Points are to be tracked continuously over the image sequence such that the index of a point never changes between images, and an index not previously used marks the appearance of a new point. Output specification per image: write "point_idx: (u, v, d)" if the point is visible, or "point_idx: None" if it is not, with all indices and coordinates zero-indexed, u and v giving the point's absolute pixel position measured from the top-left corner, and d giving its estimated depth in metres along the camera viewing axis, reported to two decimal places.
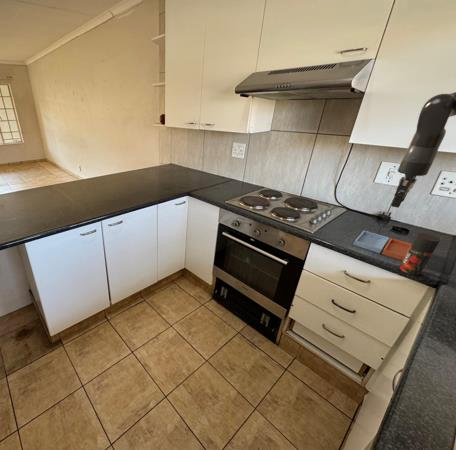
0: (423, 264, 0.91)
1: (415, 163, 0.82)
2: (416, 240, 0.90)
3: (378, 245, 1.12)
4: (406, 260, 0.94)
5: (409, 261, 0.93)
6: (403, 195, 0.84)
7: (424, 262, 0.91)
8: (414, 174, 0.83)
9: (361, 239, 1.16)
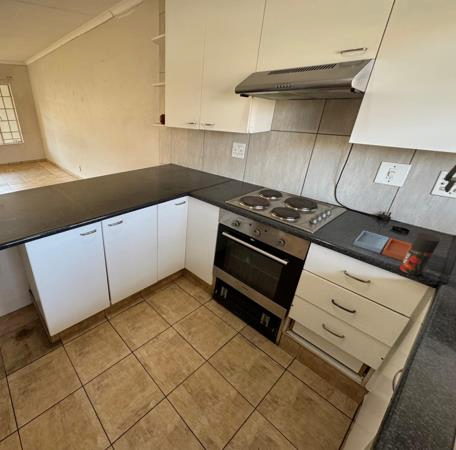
0: (423, 264, 0.91)
1: None
2: (416, 240, 0.90)
3: (378, 245, 1.12)
4: (406, 260, 0.94)
5: (409, 261, 0.93)
6: (446, 175, 0.90)
7: (424, 262, 0.91)
8: None
9: (361, 239, 1.16)
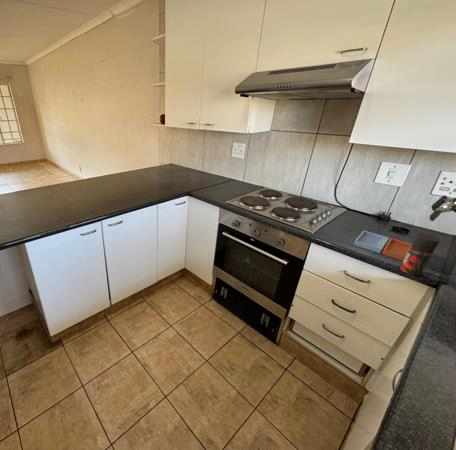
0: (423, 264, 0.91)
1: None
2: (416, 240, 0.90)
3: (378, 245, 1.12)
4: (406, 260, 0.94)
5: (409, 261, 0.93)
6: (432, 205, 0.94)
7: (424, 262, 0.91)
8: None
9: (361, 239, 1.16)
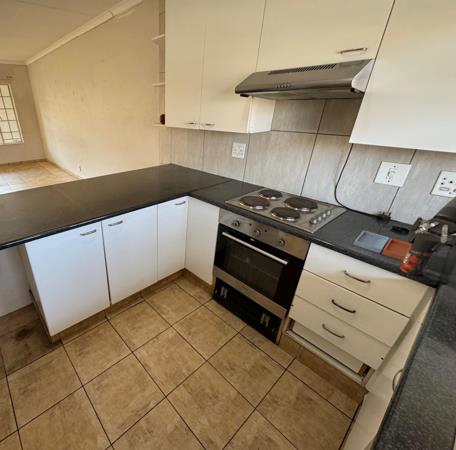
0: (423, 264, 0.91)
1: None
2: (416, 240, 0.90)
3: (378, 245, 1.12)
4: (406, 260, 0.94)
5: (409, 262, 0.93)
6: (411, 228, 0.94)
7: (424, 262, 0.91)
8: None
9: (361, 239, 1.16)
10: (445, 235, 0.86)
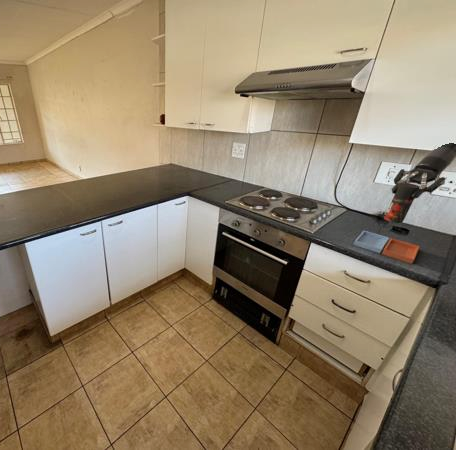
0: (405, 211, 0.98)
1: None
2: (399, 188, 0.97)
3: (378, 245, 1.12)
4: (390, 209, 1.01)
5: (392, 210, 1.00)
6: (394, 179, 1.01)
7: (406, 209, 0.98)
8: (415, 166, 0.98)
9: (361, 239, 1.16)
10: (424, 182, 0.93)
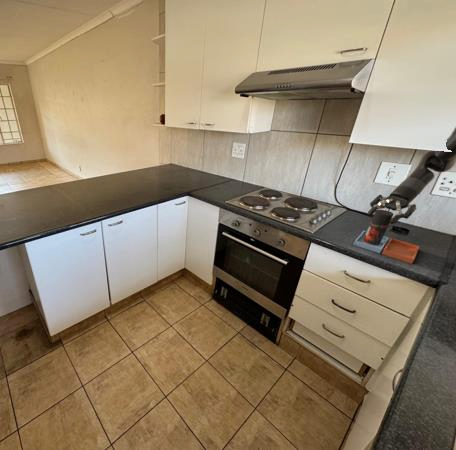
0: (381, 235, 1.09)
1: None
2: (375, 215, 1.09)
3: (378, 245, 1.12)
4: (368, 233, 1.12)
5: (369, 234, 1.11)
6: None
7: (381, 233, 1.09)
8: (390, 194, 1.09)
9: (361, 239, 1.16)
10: (399, 209, 1.03)
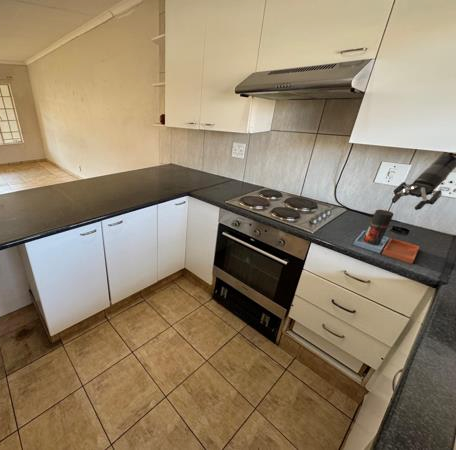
0: (381, 235, 1.09)
1: None
2: (375, 215, 1.09)
3: (378, 245, 1.12)
4: (368, 233, 1.12)
5: (369, 234, 1.11)
6: (394, 190, 1.15)
7: (381, 233, 1.09)
8: (414, 181, 1.11)
9: (361, 239, 1.16)
10: (425, 195, 1.05)
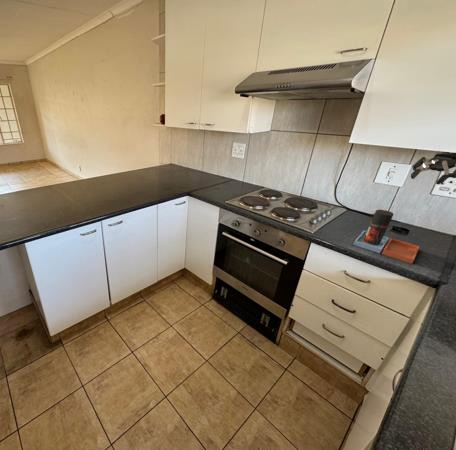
0: (381, 235, 1.09)
1: None
2: (375, 215, 1.09)
3: (378, 245, 1.12)
4: (368, 233, 1.12)
5: (369, 234, 1.11)
6: (413, 165, 1.09)
7: (381, 233, 1.09)
8: (435, 155, 1.06)
9: (361, 239, 1.16)
10: (447, 168, 1.00)
